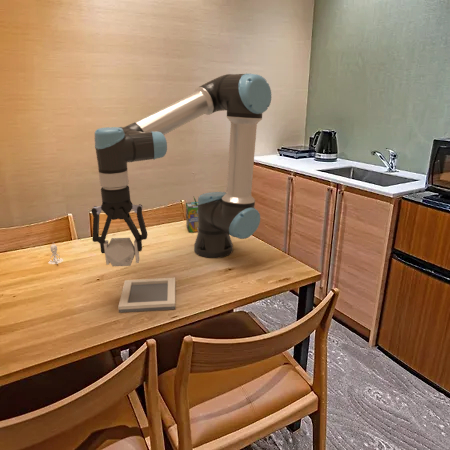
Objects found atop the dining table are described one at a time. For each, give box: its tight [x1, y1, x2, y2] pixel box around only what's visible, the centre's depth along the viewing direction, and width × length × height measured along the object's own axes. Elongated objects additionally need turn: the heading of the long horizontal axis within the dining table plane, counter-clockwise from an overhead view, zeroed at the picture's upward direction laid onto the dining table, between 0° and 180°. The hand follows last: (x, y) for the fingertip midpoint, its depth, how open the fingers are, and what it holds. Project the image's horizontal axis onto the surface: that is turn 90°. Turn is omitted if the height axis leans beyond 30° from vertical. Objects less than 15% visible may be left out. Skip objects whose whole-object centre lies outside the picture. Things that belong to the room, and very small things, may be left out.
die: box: [104, 237, 135, 267], centre depth 113 cm, size 8×9×10 cm
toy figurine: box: [47, 243, 64, 265], centre depth 141 cm, size 5×8×7 cm, turn 31°
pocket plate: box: [117, 277, 176, 313], centre depth 119 cm, size 16×16×2 cm
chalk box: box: [185, 196, 198, 233], centre depth 174 cm, size 9×9×15 cm
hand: (123, 261), depth 114 cm, fingers closed on die, 8 cm apart
